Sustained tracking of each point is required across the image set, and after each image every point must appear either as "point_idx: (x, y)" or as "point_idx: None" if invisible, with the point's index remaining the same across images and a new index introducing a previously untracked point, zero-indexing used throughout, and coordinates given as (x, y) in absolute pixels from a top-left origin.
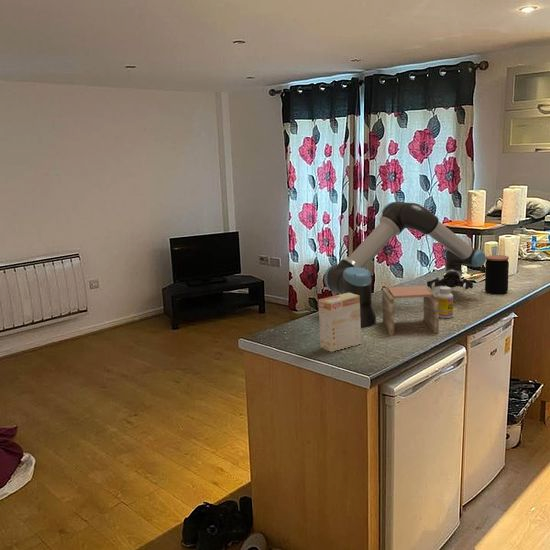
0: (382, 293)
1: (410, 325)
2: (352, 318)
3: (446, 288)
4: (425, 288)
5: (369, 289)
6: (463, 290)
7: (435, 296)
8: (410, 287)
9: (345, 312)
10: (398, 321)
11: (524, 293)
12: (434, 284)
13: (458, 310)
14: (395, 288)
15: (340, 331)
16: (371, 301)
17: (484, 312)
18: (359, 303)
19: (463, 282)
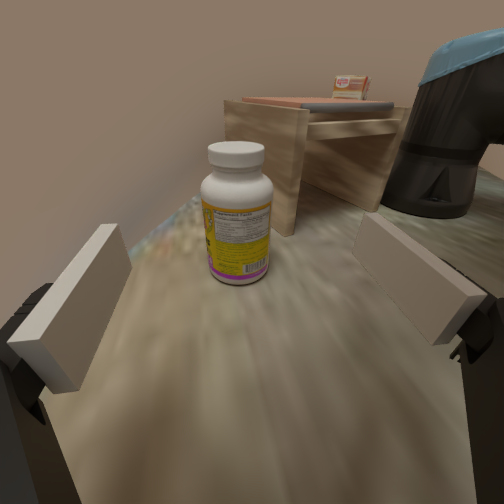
0: (403, 127)
1: (301, 206)
2: None
3: (228, 144)
4: (279, 100)
5: (417, 103)
6: (125, 255)
7: (231, 100)
8: (329, 101)
9: None
10: (344, 216)
11: None
12: (425, 279)
13: (188, 360)
14: (361, 101)
15: None
16: (412, 148)
17: None
18: (333, 91)
19: (14, 410)
